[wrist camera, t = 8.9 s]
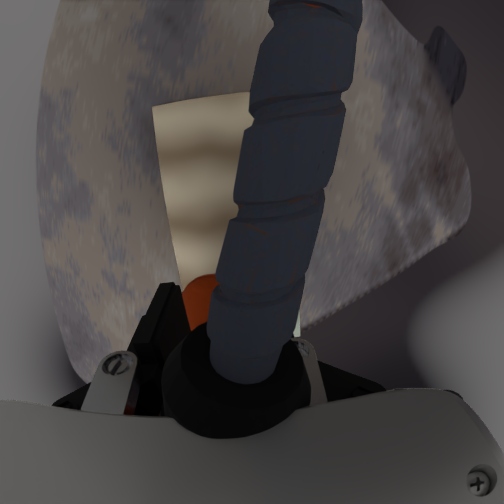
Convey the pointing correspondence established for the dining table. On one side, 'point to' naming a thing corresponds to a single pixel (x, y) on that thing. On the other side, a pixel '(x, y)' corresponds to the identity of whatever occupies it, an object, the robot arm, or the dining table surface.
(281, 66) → the toy drill
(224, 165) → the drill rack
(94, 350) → the dining table surface
